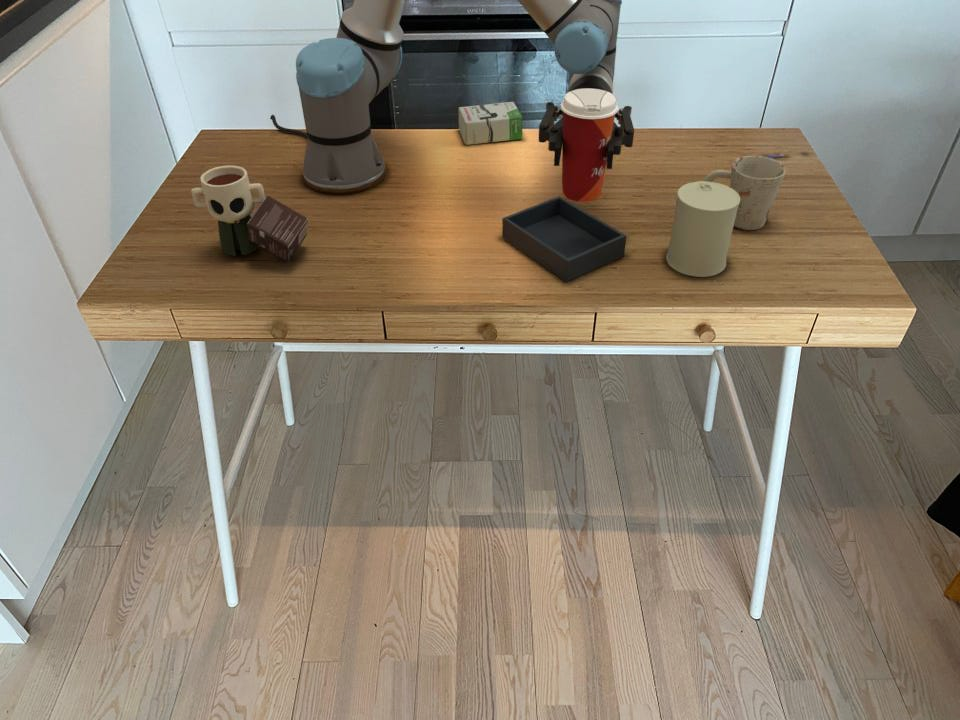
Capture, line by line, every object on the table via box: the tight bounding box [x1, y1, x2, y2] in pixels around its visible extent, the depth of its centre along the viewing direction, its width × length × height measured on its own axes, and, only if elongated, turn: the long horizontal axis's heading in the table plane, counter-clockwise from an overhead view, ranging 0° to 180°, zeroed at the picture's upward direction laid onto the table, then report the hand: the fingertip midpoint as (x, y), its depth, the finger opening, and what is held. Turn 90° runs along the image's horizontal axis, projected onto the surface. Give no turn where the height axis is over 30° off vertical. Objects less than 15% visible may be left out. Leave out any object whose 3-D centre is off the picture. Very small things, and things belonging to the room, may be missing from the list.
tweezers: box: [767, 153, 786, 159], centre depth 149 cm, size 2×12×1 cm, turn 103°
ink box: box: [458, 101, 523, 146], centre depth 158 cm, size 9×5×12 cm
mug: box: [702, 155, 787, 231], centre depth 128 cm, size 8×13×10 cm, turn 70°
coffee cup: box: [560, 88, 619, 203], centre depth 114 cm, size 8×8×15 cm
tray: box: [501, 195, 627, 283], centre depth 124 cm, size 16×12×4 cm
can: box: [665, 180, 740, 278], centre depth 118 cm, size 9×9×12 cm
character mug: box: [190, 164, 266, 257], centre depth 122 cm, size 11×7×13 cm, turn 98°
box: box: [247, 195, 309, 262], centre depth 121 cm, size 6×6×7 cm
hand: (583, 158), depth 110 cm, fingers closed on coffee cup, 7 cm apart
